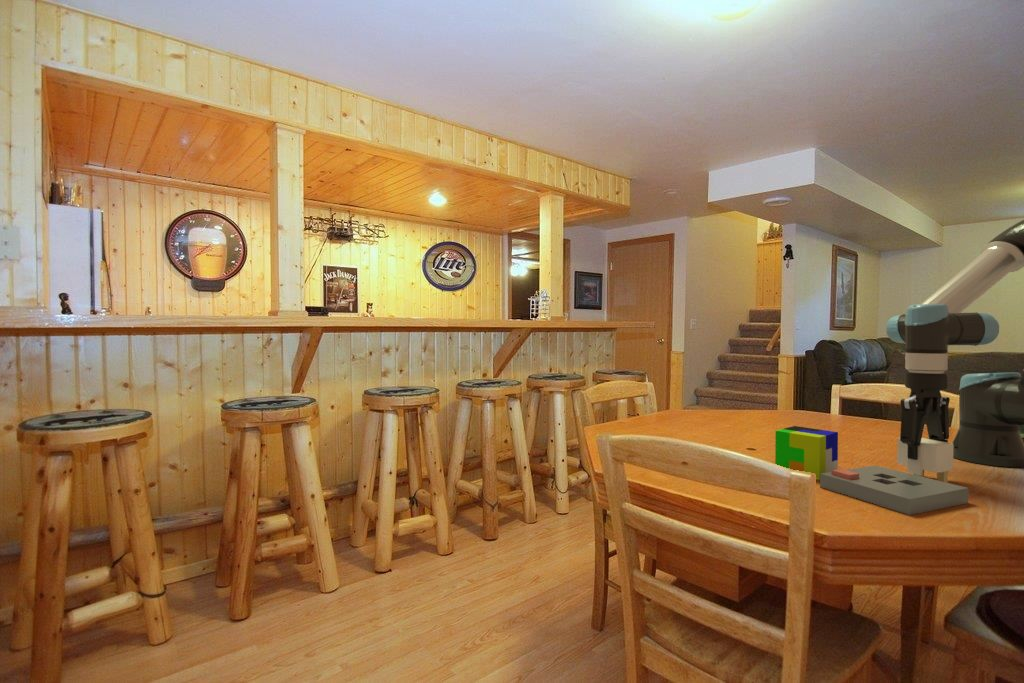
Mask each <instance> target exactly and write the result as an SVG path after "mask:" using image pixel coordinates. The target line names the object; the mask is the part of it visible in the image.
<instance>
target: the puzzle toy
mask: <svg viewBox="0 0 1024 683" xmlns="http://www.w3.org/2000/svg"><path fill="white" fill-rule="evenodd" d="M774 447H775V449H774V450H775V452H774V453H775V456H774V457H775V464H777V465H780V466H783V467H786V468H790V469H793V470H799V471H805V472H811V473H815V474H816V478H817V480H816V481H820V474H821V473H828V472H831V470H836V469H839V466H838V464H839V463H838V462H839V460H838V459H839V451H838V450H839V432H838V431H832V430H825V429H818V428H812V427H804V426H798V425H793V426H789V427H786V428H785V427H784V428H781V429H777V430H775V446H774Z"/></svg>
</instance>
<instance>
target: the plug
mask: <svg viewBox="0 0 1024 683" xmlns="http://www.w3.org/2000/svg"><path fill="white" fill-rule="evenodd" d="M896 440H897V445H896V446H897V447H896V448H897V452H896V453H897V454H896V455H897V456H896V460H897V461H896V464H897V465H901V466H905V467H907V463H908V456H907V455H908V445H907V444H904V443H902V442H901V441H900V437H899V438H897V439H896ZM920 446H923V475H918V474H914V473H912V474H913V475H917V476H921V477H925V471H926V472H931V473H935V474H936V480H938V481H942V482H946V483H949V471H954V457H953V442H949V441H948V442H942V441H937V440H931V439H929V438H925V437H922V438H921V443H920Z"/></svg>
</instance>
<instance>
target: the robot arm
mask: <svg viewBox="0 0 1024 683" xmlns="http://www.w3.org/2000/svg"><path fill="white" fill-rule="evenodd" d="M1022 268H1024V219H1022V220H1020V221H1018V222H1016V223H1015V224H1013V225H1011V226H1009V227H1008V228H1007V229H1005V230H1004V231H1001V232H1000V233H999V234H997V235H996V236H995V237H994V238H992V239H991V240H990V241H989V242H988V243H986V244H984V246H983V247H982V248H981V251H980V254H979V255H978V256H977V257H975V258H974V260H972V261H971V262H969V263H968V264H967V265H966V266H965V267H964V268H962V269H961V270H960V271H959V272H958V273H956V274H955V275H954V276H953V277H951V278H950V279H949V280H948V281H946V282H945V284H943V285H941V287H939V288H938V289H937V290H936V291H934V292H933V293H932V294H931V295H929V297H927V298H925V300H924V301H922V302H921V303H920V304H911V305H909V306H908V307H907V308H906V312H905V313H904V314H902V313H901V314H897V315H894V316H892V317H891V318H889V320H888V321H887V323H886V326H885V330H886V331H885V332H886V335H887V337H888V338H889V340H891V341H892V342H895V343H899V344H905V356H904V359H905V361H904V362H905V363H904V365H905V366H904V368H905V369H906V370H907V371H906V372H904V386H905V388H907V389H910V394H909V396H908V398H901V399H900V407H901V417H900V418H901V419H900V436H899V438H900V441H901V442H902V443H904V444H907V445H908V455H907V456H908V463H907V466H906V468H907V470H906V471H907V472H906V473H909V474H913V473H914V474H918V475H923V446H920V443H921V438H923V433H924V427H925V426H926V429H927V435H928V439H931V440H937V441H942V442H948V443H949V438H950V428H949V427H950V424H949V416H950V415H949V406H950V397H948V396H942V393H941V391H945V390H947V388H948V374H947V373H945V372H946V371H948V370H949V369H948V364H949V363H948V360H949V359H948V353H949V352H948V351H949V350H948V348H949V346H975V347H977V346H982V345H983V346H984V345H985V346H986V345H988V344H990V343H992V342H994V341H995V340H996V339H997V337H998V336H999V334H1000V324H999V321H998V320H997V319H996V318H995V317H994V316H993V315H991V314H990V313H989V314H988V313H986V312H985V313H984V312H977V311H976V312H975V311H974V312H963V311H964V310H966V309H968V307H969V306H971V305H972V304H973V303H974V302H975V301H977V299H979V298H980V297H981V296H983V295H984V294H985V293H987V292H988V291H989V290H990V289H991V288H992V287H994V286H995V285H996V284H997V283H998V282H1000V281H1001V280H1002V279H1004V278H1005V276H1007V275H1008V274H1010V273H1015V272H1018V271H1019V270H1021V269H1022ZM1021 372H1022V373H1020V372H1016V371H1015V372H1013V371H1012V372H985V373H984V372H983V373H981V372H980V373H967V374H964V375H962V376H961V377H960V382H959V388H958V392H959V394H958V395H959V397H958V398H959V399H958V400H959V401H958V403H959V404H958V405H959V409H958V411H959V428H958V430H957V432H956V435H955V437H954V439H953V441H952V443H953V459H954V458H955V459H958V460H960V461H965V462H969V463H974V464H980V465H987V466H988V465H989V466H994V467H1006V468H1007V467H1009V468H1022V467H1023V468H1024V440H1023V437H1022V435H1021V426H1022V427H1024V368H1023V370H1022V371H1021Z"/></svg>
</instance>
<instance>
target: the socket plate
mask: <svg viewBox="0 0 1024 683" xmlns="http://www.w3.org/2000/svg"><path fill="white" fill-rule="evenodd" d="M819 487H820V488H821V487H822V489H824V488H825V490H828V491H831V492H834V493H837V494H840V493H841V494H840V495H844V494H845V495H844V496H847V495H848V496H847V497H850V496H851V498H853V497H854V498H853V499H856V498H858V499H857V500H859V499H860V500H859V501H863V500H864V501H863V502H866V501H867V502H866V503H869V502H870V504H872V503H873V505H875V504H876V506H879V507H883V508H885V509H889V510H892V511H895V512H897V513H901V514H904V515H908V516H912V515H917V514H922V513H927V512H931V511H936V510H940V509H946V508H950V507H956V506H959V505H960V506H961V505H964V504H965V505H966V504H969V493H970V492H969V489H970V488H969V487H967V486H962V485H958V484H954V483H949V482H948V483H946V482H942V481H938V480H937V479H933V478H929V477H925V476H924V477H921V476H917V475H913V473H909V472H904V471H900V470H895V469H892V468H888V467H884V466H879V465H870V466H862V467H856V468H850V469H849V468H848V469H844V468H838V469H836V470H831V472H828V473H821V474H820V480H819Z"/></svg>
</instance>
